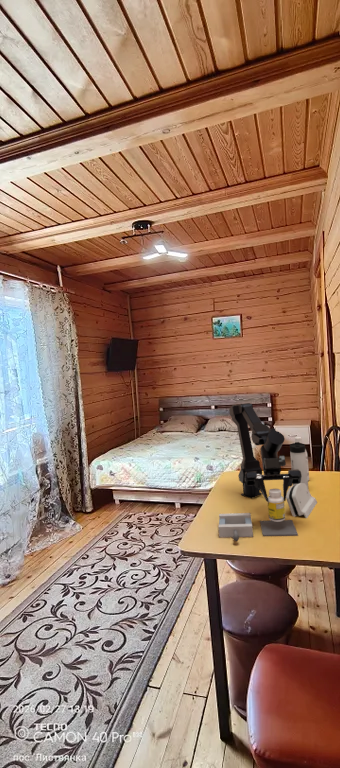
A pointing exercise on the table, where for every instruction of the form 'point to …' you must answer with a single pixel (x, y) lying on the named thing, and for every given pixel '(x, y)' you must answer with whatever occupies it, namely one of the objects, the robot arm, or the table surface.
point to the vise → (235, 525)
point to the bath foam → (299, 439)
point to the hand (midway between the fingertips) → (276, 500)
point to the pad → (278, 528)
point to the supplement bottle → (276, 505)
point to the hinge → (300, 500)
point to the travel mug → (299, 460)
